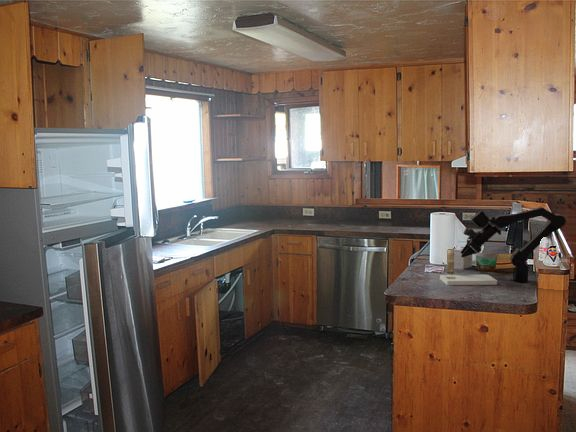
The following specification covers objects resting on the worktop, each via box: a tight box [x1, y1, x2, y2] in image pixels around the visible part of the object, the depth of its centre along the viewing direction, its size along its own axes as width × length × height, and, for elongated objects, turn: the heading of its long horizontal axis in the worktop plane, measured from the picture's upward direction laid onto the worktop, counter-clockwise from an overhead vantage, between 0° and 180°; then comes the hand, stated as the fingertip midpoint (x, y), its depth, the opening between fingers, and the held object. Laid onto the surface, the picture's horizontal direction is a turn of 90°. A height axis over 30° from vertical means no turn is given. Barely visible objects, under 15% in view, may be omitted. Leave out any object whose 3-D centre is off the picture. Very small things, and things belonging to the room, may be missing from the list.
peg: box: [446, 249, 455, 275], centre depth 269 cm, size 4×4×14 cm
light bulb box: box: [453, 245, 473, 270], centre depth 291 cm, size 11×7×11 cm, turn 136°
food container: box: [473, 251, 500, 273], centre depth 282 cm, size 12×6×10 cm, turn 73°
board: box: [439, 274, 498, 286], centre depth 260 cm, size 24×12×2 cm, turn 91°
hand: (461, 254), depth 267 cm, fingers open, 9 cm apart
